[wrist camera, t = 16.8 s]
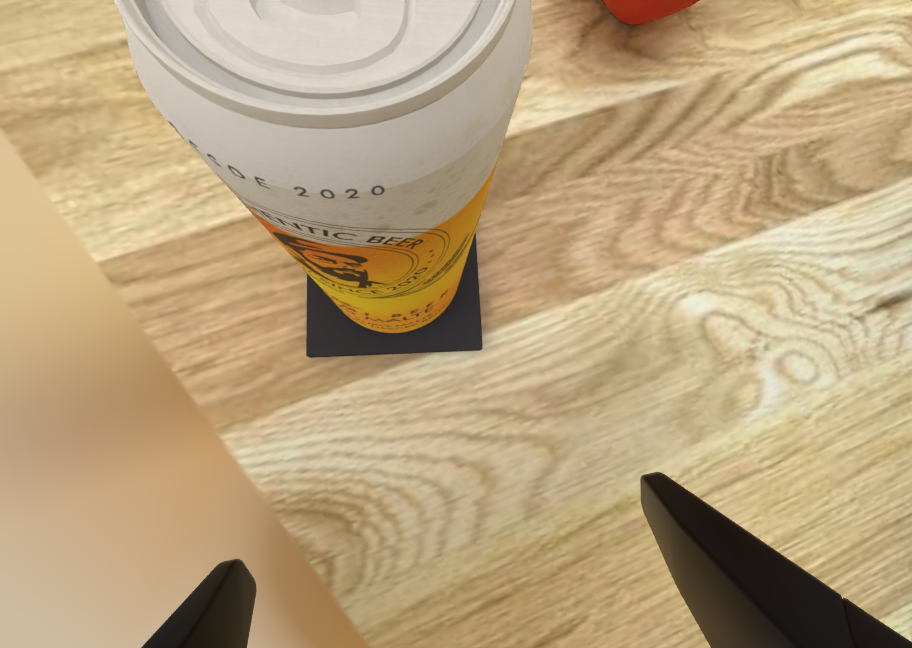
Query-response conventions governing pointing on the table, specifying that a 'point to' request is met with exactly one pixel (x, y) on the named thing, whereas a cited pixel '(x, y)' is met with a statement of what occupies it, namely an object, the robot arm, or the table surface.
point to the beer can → (346, 128)
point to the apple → (645, 9)
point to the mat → (443, 334)
